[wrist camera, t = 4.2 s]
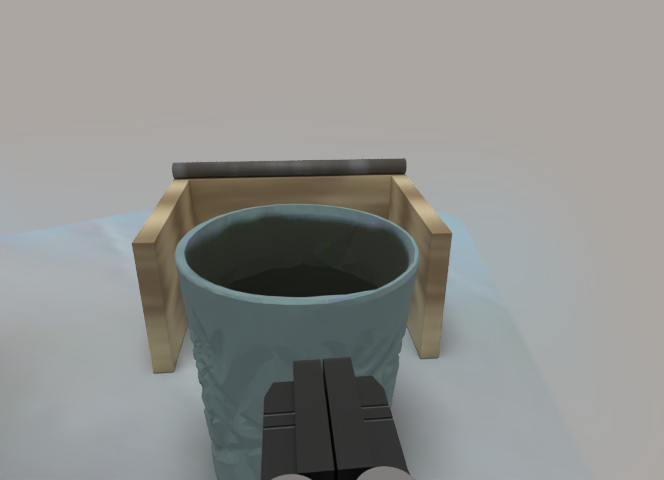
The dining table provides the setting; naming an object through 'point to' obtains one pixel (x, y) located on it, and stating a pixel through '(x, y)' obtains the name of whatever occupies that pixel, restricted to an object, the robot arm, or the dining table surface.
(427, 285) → the oak caddy
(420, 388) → the dining table surface
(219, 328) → the green ceramic pot
